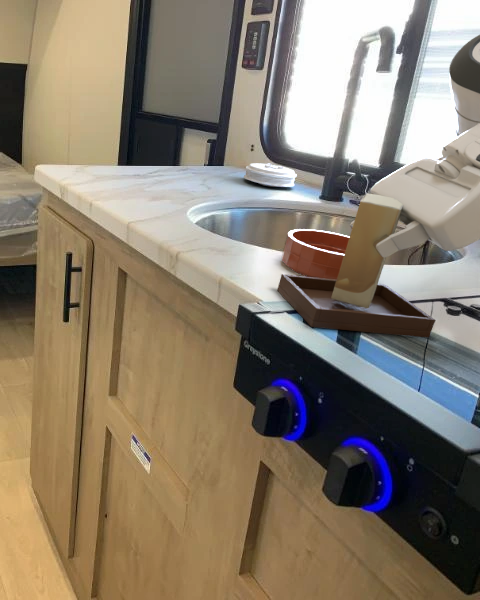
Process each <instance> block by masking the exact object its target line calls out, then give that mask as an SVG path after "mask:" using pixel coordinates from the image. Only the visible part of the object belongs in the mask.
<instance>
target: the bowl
mask: <svg viewBox="0 0 480 600" xmlns="http://www.w3.org/2000/svg"><path fill="white" fill-rule="evenodd" d="M349 238H350V235H344V234H341V233H337V232H331V231H325V230H317V229H308V228H307V229H305V228H303V229H301V228H299V229H298V228H297V229H291V230H290V231H288V232H287V234H286V238H285V241H284V246H283V248H282V249H283V250H282V253H281V261H282V262H283V263H284V264H285V266H287V267H288V268H289V269H290V270H292V271H293V272H295V273H297V274H300V276H306V277H316V278H326V279H336V280H337V277H338V274H339V271H340V268H341V264H342V261H343V257H344V254H345V251H346V248H347V244H348V241H349Z"/></svg>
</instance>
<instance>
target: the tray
mask: <svg viewBox="0 0 480 600" xmlns="http://www.w3.org/2000/svg"><path fill="white" fill-rule="evenodd" d="M335 284H336V279H326V278H316V277H306V276H304V275H295V274H284V273H281V275H280V278H279V282H278V286H277V292H278V293H279V294H280V295H281V296H282V297H283V298H284V299H285V300H286V301H287V303H289V305H290V306H291V307H292V308H293V309H294V310H295V312H297V313H298V314H299V316H300V317H301V318H302V319H303V320H304V321H305V322H306V323H307V324H308V325H309V326H310V327H311V328H318V329H330V330H341V331H351V332H361V333H373V334H385V335H394V336H405V337H416V338H427V339H429V338H430V336H431V334H432V331H433V329H434V325H435V323H436V319H435V318H433V316H431V315H429V314H428V313H426V311H424V310H422V309H421V308H419V307H418V306H417V305H415V303H412V302H411V301H410V300H408V299H407V298H405V297H404V296H402V295H401V294H400V293H398V292H397V291H396V290H394V289H392V288H391V287H390V286H388V285H387V284H386V283H385V284H384V283H378V284H377V287H376V290H375V293H374V296H373V299H372V302H371V304H370V306H369V308H363V307H360V306H356V305H353V304H349V303H346V302H342V301H338V300H335V299H332V298H331V297H332V294H333V290H334V287H335Z"/></svg>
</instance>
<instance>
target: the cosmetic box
mask: <svg viewBox="0 0 480 600" xmlns="http://www.w3.org/2000/svg"><path fill="white" fill-rule="evenodd" d="M402 207H403V204H402V203H400V202H399V201H398V200H396V199H394V198H391V197H386V196H381V195H375V194H371V193H368V192H367V193H365V194H364V195H363V196H362V198H361V199H360V202H359V205H358V208H357V212H356V215H355V218H354V220H355V221H354V220H353V221H354V224H353V228H351V231H350V234H349V237H350V238H349V241H348V244H347V248H346V251H345V254H344V257H343V261H342V264H341V268H340V271H339V274H338V277H337V280H336V284H335V287H334V290H333V294H332V297H331V298H332V299H335V300H338V301H342V302H346V303H349V304H353V305H356V306H360V307H363V308H369V306H370V304H371V302H372V299H373V296H374V293H375V290H376V287H377V284H379V281H380V278H381V275H382V272H383V269H384V265H385V264H386V263H385V262H386V259H387V257H386V258H384V257H382V256H381V255H380V254H379V253H378V252H377V251H376V249H375V248H374V246H373V243H374V242H375V241H376V240H378V239H380V238H381V237H382V236H384V235H386V234H387V235H388V236H390V235H392V234H394V233H396V229H397V227H398V223H399V222H400V221H399V218H400V215H401V210H402Z"/></svg>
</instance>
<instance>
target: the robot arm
mask: <svg viewBox="0 0 480 600" xmlns="http://www.w3.org/2000/svg"><path fill="white" fill-rule="evenodd" d="M448 73H449V77H448V78H449V79H448V80H449V88H450V93H451V102H452V103H451V104H452V109H453V114H454V115H453V116H454V119H455V120H454V121H455V126H456V129H455V130H456V131H455V133H456V136H455V138H453V139H451V140H450V141H448V142H447V143H446V144H444V145H443V146H442V148H441V156H438V158H433V157H429V156H426V157H425V156H424V157H420V158H418V159H416V160H414V161H411V162H409V163H408V164H405V165H404V166H402V167H400V168H399V169H397V170H395V171H393V172H392V173H390V174H388V175H387V176H385V177H383V178H382V179H380V180H378V181H377V182H376V183H374V185H373V186H372V187H371V188H370V191H369V192H370V194H375V195H381V196H386V197H391V198H394V199H396V200H398V201H399V202H400V203H402V204H403V207H402V210H401V215H400V218H399V221H398V222H400V223H402V224H403V225H405V226H404V229H401V230H399V231H397V232H396V231H395V233H394V234H392V235H390V236H388V235H387V234H386V235H384V236H382V237H381V238H380V239H378V240H376V241H375V242H374V243H373V246H374V248H375V249H376V251H377V252H378V253H379V254H380V255H381V256H382V257H384V258H386V259H387V258H389V257H390V256H392V255H394V254H395V253H398V252H399V251H403V250H407V249H411V248H414V247H418V246H420V245H422V244H423V243H425V242H427V241H429V242H431V243H432V244H434V245H436V246H437V247H439V248H440V249H442V251H444V252H450V251H456V250H460V249H463V248H466V247H467V246H470V245H473V244H474V243H476V242H478V241H479V240H480V34H478V35H476V36H475V37H473V38H471V39H470V40H469V41H467V42H466V43H465V44H464V45H463V46H462V47H461V48H460V49H459V50H458V51H457V52H456V53H455V54H454V56H453V58H452V59H451V62H450V64H449V69H448ZM354 221H355V219H354V220H353V221H351V222H350V224H349V227H350V228H351V229H352V228H353V224H354Z"/></svg>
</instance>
